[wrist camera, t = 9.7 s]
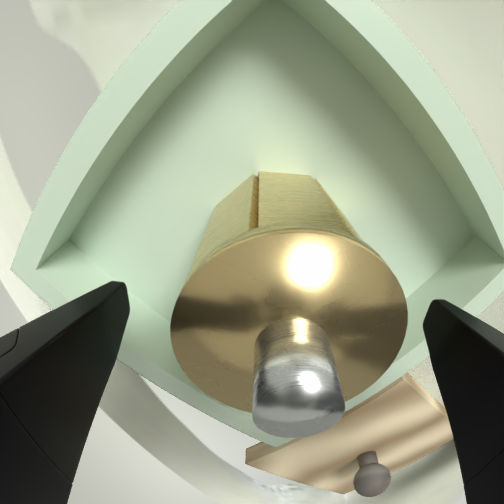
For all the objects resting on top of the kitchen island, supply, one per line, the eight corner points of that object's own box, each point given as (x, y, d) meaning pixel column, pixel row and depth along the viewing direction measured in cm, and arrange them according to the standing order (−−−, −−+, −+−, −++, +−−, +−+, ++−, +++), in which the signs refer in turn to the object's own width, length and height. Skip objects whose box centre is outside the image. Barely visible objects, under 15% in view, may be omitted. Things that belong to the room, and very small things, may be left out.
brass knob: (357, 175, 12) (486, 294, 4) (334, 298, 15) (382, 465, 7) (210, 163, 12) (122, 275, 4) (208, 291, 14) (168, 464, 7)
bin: (486, 227, 14) (530, 261, 10) (274, 396, 19) (275, 447, 16) (271, -30, 9) (275, -75, 5) (53, 233, 14) (10, 269, 11)
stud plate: (458, 420, 22) (476, 465, 17) (341, 482, 26) (347, 524, 21) (396, 363, 18) (423, 431, 13) (246, 448, 22) (243, 506, 18)
